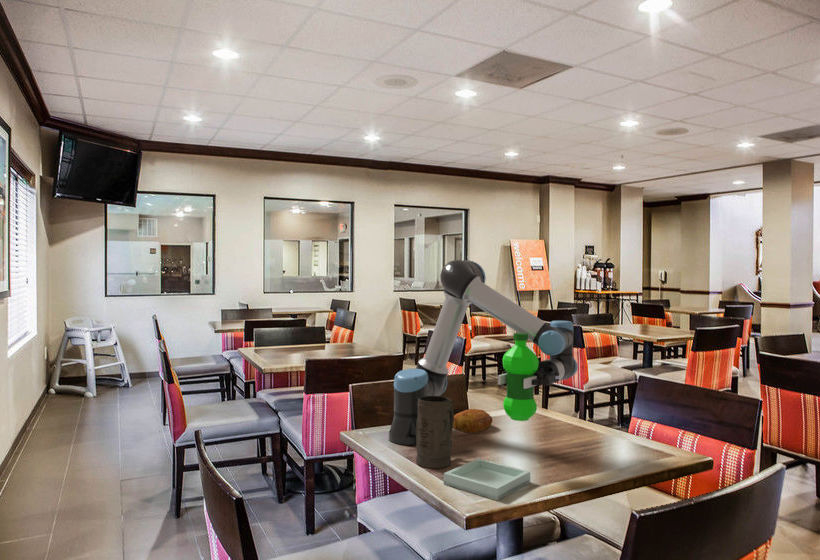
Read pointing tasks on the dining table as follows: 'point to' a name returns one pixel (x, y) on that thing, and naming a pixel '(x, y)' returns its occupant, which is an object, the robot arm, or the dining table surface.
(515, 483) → the tray
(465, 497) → the dining table surface
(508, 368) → the plastic bottle
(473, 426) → the bread loaf
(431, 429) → the beer stein
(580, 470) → the dining table surface
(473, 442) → the dining table surface
